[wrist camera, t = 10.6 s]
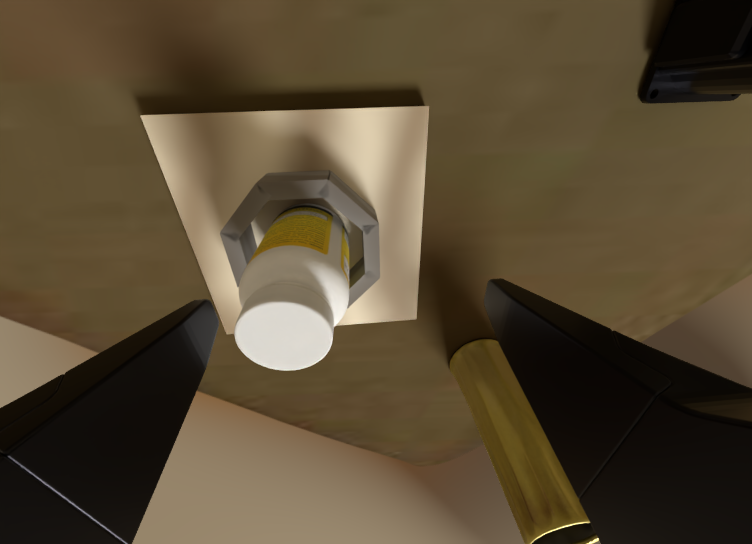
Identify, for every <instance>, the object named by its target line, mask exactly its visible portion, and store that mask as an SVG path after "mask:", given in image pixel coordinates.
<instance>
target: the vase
mask: <svg viewBox="0 0 752 544" xmlns="http://www.w3.org/2000/svg"><path fill="white" fill-rule="evenodd" d="M450 371H451V373H452V374H453V376H454V377H455V378H456V380H457V382H458V384H459V386H460V388H461V390H462V392H463V394H464V397H465V399H466V401H467V403H468V406H469V408H470V410H471V413H472V416H473V418H474V421H475V423H476V426H477V428H478V431H479V433H480V435H481V438H482V440H483V443H484V445H485V447H486V450H487V452H488V454H489V457H490V459H491V462H492V464H493V466H494V469H495V471H496V474H497V476H498V479H499V481H500V484H501V486H502V489H503V491H504V494H505V496H506V499H507V501H508V503H509V506H510V508H511V511H512V513H513V516H514V518H515V520H516V523H517V525H518V528H519V530H520V533H521V536H522V538H523V541H524V543H525V544H593V543H595V542H597V541H599V539H598V537H597V535H596V533H595V531H594V529H593V527H592V525H591V523H590V521H589V519H588V517H587V515H586V514H585V512H584V510H583V508H582V506H581V504H580V502H579V500H580V499H578V497H577V496H576V494H575V492H574V490H573V488H572V486H571V484H570V482H569V480H568V478H567V476H566V474H565V472H564V470H563V468H562V466H561V464H560V462H559V460H558V459H557V457H556V455H555V453H554V451H553V449H552V447H551V445H550V443H549V441H548V439H547V437H546V435H545V433H544V431H543V429H542V427H541V425H540V423H539V421H538V420H537V418H536V416H535V414H534V412H533V410H532V408H531V406H530V404H529V402H528V400H527V398H526V396H525V394H524V392H523V390H522V388H521V386H520V384H519V383H518V381H517V379H516V377H515V375H514V373H513V371H512V369H511V367H510V365H509V363H508V361H507V359H506V357H505V355H504V353H503V351H502V349H501V347H500V345H499V343H498V341H496V340H492V339H479V340H475V341H472V342H469V343H467V344H465V345H464V346H462V347H461V348H459V349H458V350H457V351H456V352H455V354H454V355H453V356H452V358H451V361H450Z"/></svg>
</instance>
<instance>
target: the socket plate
mask: <svg viewBox="0 0 752 544" xmlns="http://www.w3.org/2000/svg"><path fill="white" fill-rule="evenodd" d="M140 116H141V118H142V121H143V124H144V126H145V129H146V131H147V134H148V136H149V139H150V141H151V144H152V146H153V149H154V151H155V154H156V156H157V159H158V162H159V164H160V167H161V169H162V172H163V174H164V177H165V179H166V182H167V184H168V187H169V189H170V192H171V194H172V197H173V200H174V202H175V205H176V207H177V210H178V212H179V215H180V217H181V220H182V222H183V225H184V227H185V230H186V232H187V235H188V238H189V240H190V243H191V245H192V248H193V250H194V253H195V255H196V258H197V260H198V263H199V265H200V268H201V270H202V273H203V276H204V278H205V281H206V283H207V286H208V288H209V291H210V293H211V296H212V298H213V301H214V303H215V306H216V308H217V311H218V314H219V316H220V319H221V321H222V324H223V326H224V329H225V331H226V334H234V329H235V324H236V321H237V319H238V317H239V315H240V312H241V310H242V306H241V303H240V299H239V284H240V280H241V277H242V274H243V272H244V270H245V268H246V267H247V265H248V263H249V261H250V260H251V258H252V256H253V255H254V253H255V251H256V250H257V248H258V246H259V244H260V243H261V241H262V239H263V238H264V236H265V234H266V232H267V231H268V229H269V227H270V226H271V224H272V223H273V221H274V220H275V218H276V217H277V216H278V215H279V214H280V213H281V212H282V211H284V210H285V209H287V208H289V207H291V206H293V205H297V204H304V203H309V204H316V205H320V206H323V207H325V208H327V209H329V210H330V211H332V212H333V213H335V214H336V215H337V216H338V217H339V218H340V219H341V221H342V222H343V224H344V225H345V227H346V230H347V233H348V238H349V302H348V306H347V310H346V312H345V314H344V316H343V318H342V319H341V320H340V321H339V323H338V324H337V325H350V324H362V323H375V322H387V321H400V320H412V319H416V318H417V301H418V284H419V268H420V251H421V234H422V217H423V201H424V184H425V167H426V150H427V134H428V117H429V106H405V107H374V108H343V109H312V110H281V111H250V112H219V113H188V114H157V115H140ZM337 325H336V326H337Z"/></svg>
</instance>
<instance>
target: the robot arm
mask: <svg viewBox="0 0 752 544" xmlns="http://www.w3.org/2000/svg"><path fill="white" fill-rule="evenodd" d="M652 91H653V92H652ZM651 92H652V95H651V97H650V94H651ZM751 93H752V0H677V1H676V4H675V7H674V9H673V12H672V14H671V17H670V20H669V22H668V25H667V27H666V30H665V33H664V35H663V38H662V41H661V43H660V46H659V48H658V51H657V54H656V56H655V59H654V62H653V64H652V67H651V69H650V72H649V75H648V77H647V80H646V82H645V85H644V88H643V90H642V93H641V96H640V100H641V102H642V103H677V102H707V101H731V100H734V99H736V98H738V97H739V96H740V95H741V94H751ZM484 305H485V308H486V311H487V314H488V316H489V319H490V322H491V324H492V327H493V330H494V332H495V335H496V338H497V340H498V343H499V345H500V347H501V349H502V351H503V353H504V355H505V357H506V359H507V361H508V363H509V365H510V367H511V369H512V371H513V373H514V375H515V377H516V379H517V381H518V383H519V384H520V386H521V388H522V390H523V392H524V394H525V396H526V398H527V400H528V402H529V404H530V406H531V408H532V410H533V412H534V414H535V416H536V418H537V420H538V421H539V423H540V425H541V427H542V429H543V431H544V433H545V435H546V437H547V439H548V441H549V443H550V445H551V447H552V449H553V451H554V453H555V455H556V457H557V459H558V460H559V462H560V464H561V466H562V468H563V470H564V472H565V474H566V476H567V478H568V480H569V482H570V484H571V486H572V488H573V490H574V492H575V494H576V496H577V497H578V499H580V500H579V502H580V504H581V506H582V508H583V510H584V512H585V514H586V515H587V517H588V519H589V521H590V523H591V525H592V527H593V529H594V531H595V533H596V535H597V537H598V539H599V541H600V543H601V544H752V388H749V387H746V386H744V385H741V384H739V383H737V382H734V381H732V380H729V379H727V378H724V377H722V376H720V375H717V374H714V373H712V372H710V371H707V370H705V369H702V368H700V367H697V366H695V365H693V364H690V363H688V362H685V361H683V360H680V359H678V358H676V357H673V356H671V355H668V354H666V353H664V352H661V351H659V350H656V349H654V348H652V347H649V346H647V345H645V344H643V343H641V342H638V341H636V340H634V339H632V338H629V337H627V336H625V335H623V334H621V333H619V332H616V331H612V330H611V329H610V328H608V327H606V326H603V325H601V324H599V323H597V322H595V321H593V320H590V319H588V318H586V317H584V316H582V315H580V314H577V313H575V312H573V311H571V310H569V309H567V308H565V307H562V306H560V305H558V304H556V303H554V302H552V301H549V300H547V299H545V298H543V297H541V296H539V295H536V294H534V293H532V292H530V291H528V290H526V289H524V288H521V287H519V286H517V285H515V284H513V283H511V282H508V281H506V280H504V279H490V280H489V281H488V283H487V288H486V293H485V298H484ZM218 326H219V320H218V317H217V315H216V312H215V310H214V308H213V305H212V303H211V301H210V300H208V299H201V300H194V301H192V302H190V303H188V304H186V305H185V306H183V307H181V308H179V309H178V310H176V311H174V312H172V313H170V314H169V315H167V316H165V317H163V318H161V319H160V320H158V321H156V322H154V323H153V324H151V325H149V326H147V327H145V328H144V329H142V330H140V331H138V332H137V333H135V334H133V335H131V336H129V337H128V338H126V339H124V340H122V341H121V342H119V343H117V344H115V345H113V346H112V347H110V348H108V349H106V350H105V351H103V352H101V353H99V354H97V355H96V356H94V357H92V358H90V359H89V360H87V361H85V362H83V363H81V364H80V365H78V366H76V367H75V368H73V369H71V370H69V371H68V372H66V373H65V375H60V376H58V377H56V378H55V379H53V380H51V381H49V382H47V383H46V384H44V385H42V386H41V387H38V388H37V389H35V390H33V391H31V392H29V393H28V394H26V395H24V396H22V397H20V398H18V399H17V400H15V401H13V402H11V403H9V404H7V405H5V406H3V407H1V408H0V544H132V542H133V540H134V538H135V535H136V533H137V531H138V528H139V526H140V523H141V521H142V519H143V516H144V514H145V512H146V509H147V507H148V504H149V502H150V500H151V497H152V495H153V493H154V490H155V488H156V486H157V483H158V481H159V479H160V476H161V474H162V471H163V469H164V467H165V464H166V462H167V460H168V457H169V455H170V453H171V450H172V448H173V445H174V443H175V441H176V438H177V436H178V434H179V431H180V429H181V427H182V424H183V422H184V419H185V417H186V415H187V412H188V410H189V408H190V405H191V403H192V400H193V398H194V396H195V393H196V391H197V389H198V386H199V384H200V382H201V379H202V377H203V374H204V372H205V369H206V366H207V363H208V360H209V357H210V354H211V350H212V347H213V343H214V340H215V337H216V333H217V330H218Z"/></svg>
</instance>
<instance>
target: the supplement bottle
mask: <svg viewBox="0 0 752 544" xmlns="http://www.w3.org/2000/svg"><path fill="white" fill-rule="evenodd" d="M239 299H240V303H241V306H242V310H241V312H240V315H239V317H238V319H237V321H236V324H235V329H234V336H235V340H236V343H237V345H238V347H239V348H240V350H241V351H242V352H243V353H244V354H245V355H246V356H247V357H248V358H249V359H251V360H252V361H254V362H255V363H257V364H259V365H262V366H264V367H268V368H271V369H276V370H298V369H303V368H306V367H309V366H311V365H313V364H315V363H317V362H318V361H320V360H321V359H322V358H323V357H324V356H325V355H326V354H327V353H328V351H329V349H330V347H331V344H332V340H333V330H334V326H336V325H337V324H338V323H339V321H340V320H341V319H342V318H343V316H344V314H345V312H346V310H347V306H348V302H349V238H348V233H347V230H346V227H345V225H344V224H343V222H342V221H341V219H340V218H339V217H338V216H337V215H336V214H335V213H333V212H332V211H330V210H329V209H327V208H325V207H323V206H320V205H316V204H309V203H304V204H297V205H293V206H291V207H289V208H287V209H285V210H284V211H282V212H281V213H280V214H279V215H278V216H277V217H276V218H275V220H274V221H273V223H272V224H271V226H270V227H269V229H268V231H267V232H266V234H265V236H264V238H263V239H262V241H261V243H260V244H259V246H258V248H257V250H256V251H255V253H254V255H253V256H252V258H251V260H250V261H249V263H248V265H247V267H246V268H245V270H244V272H243V274H242V277H241V280H240V284H239Z"/></svg>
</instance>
